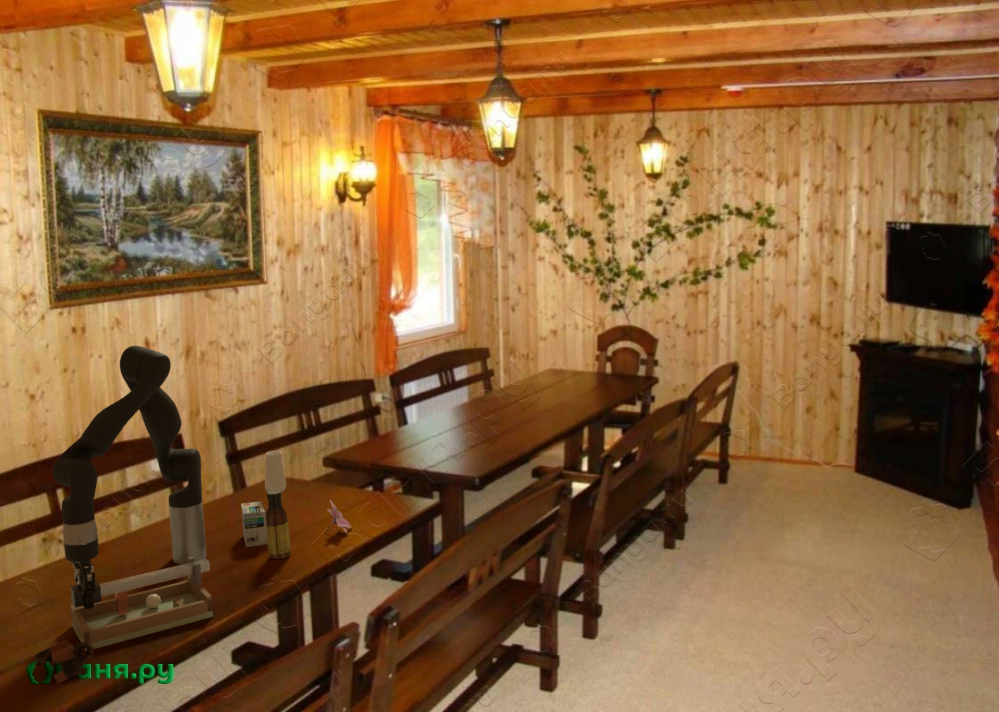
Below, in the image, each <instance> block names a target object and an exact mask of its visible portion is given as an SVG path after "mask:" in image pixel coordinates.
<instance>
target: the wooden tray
mask: <svg viewBox="0 0 999 712" xmlns="http://www.w3.org/2000/svg"><path fill="white" fill-rule="evenodd" d="M191 562H195V559H194V557H193V556H192V557H188V563H191ZM202 581H203V580H202V573H201V568H200V563H199V562H196V563H194V574H193V575H189V576H187V579H186V580H184V581H183V580H182V581H179V582H175V583H172V584H168V585H167V584H166V585H164V586H159V587H155V588H151V589H148V590H143V591H138V592H134V593H131V594H127V595H128V607H129V613H128V614H124V615H120V616H119V615H118V614H117V611H116V600H115V598H111V599H106V600H102V601H101V602H96V603H94V607H93V608H90V609H85V608H84V606H80V607H76V608H75V606H74V605H73V604H71V605H70V604H69V607H70V618H71V626H72V628H74V629H73V631H74V632H75V634H76V636H77V637H78V639H79V641H80V643H82V642H89V643H91V646H92V647H94V649H93V650H95V649H99V648H104V647H106V646H110V645H113V644H117V643H121V642H125V641H129V640H133V639H136V638H139V637H140V638H141V637H144V636H146V635H147V636H148V635H150V634H154V633H158V632H162V631H165V630H170V629H173V628H177V627H180V626H183V625H184V626H185V625H188V624H191V623H195V622H199V621H201V620H202V621H203V620H207V619H209V618H212V617H214V609H213V597H212V595H211V594H210V593H209V591H207V590H206V589H205V588H204V587H203V584H202ZM151 594H157V595H159V597H160V598H161V603H160V605H159V606H158V607H157V608H154V609H152V608H149V607H148V606H147V605H146V599H147V597H148V596H149V595H151ZM84 650H85V651H86V652H87V649H86V648H84Z"/></svg>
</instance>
